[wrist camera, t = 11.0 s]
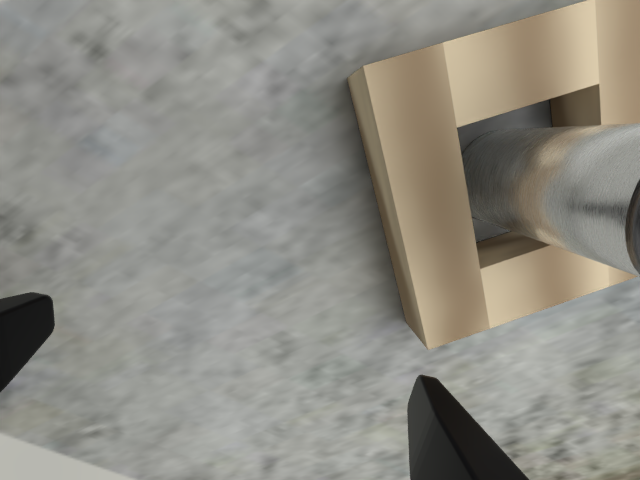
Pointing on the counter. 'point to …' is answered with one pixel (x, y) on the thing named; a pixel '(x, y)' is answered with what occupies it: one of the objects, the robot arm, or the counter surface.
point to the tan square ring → (447, 167)
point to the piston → (562, 188)
